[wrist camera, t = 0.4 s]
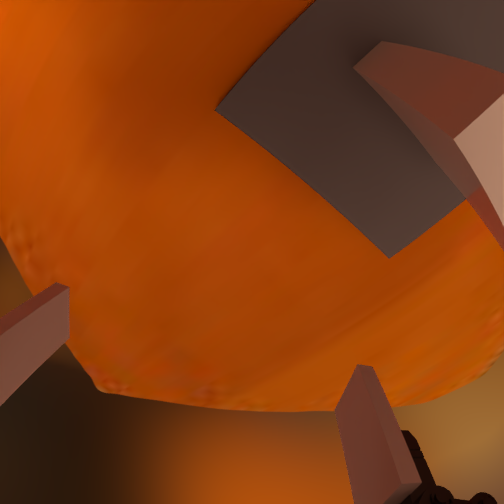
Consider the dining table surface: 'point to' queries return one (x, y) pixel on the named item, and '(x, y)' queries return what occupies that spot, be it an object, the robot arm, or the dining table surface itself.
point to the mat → (361, 108)
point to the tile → (448, 118)
